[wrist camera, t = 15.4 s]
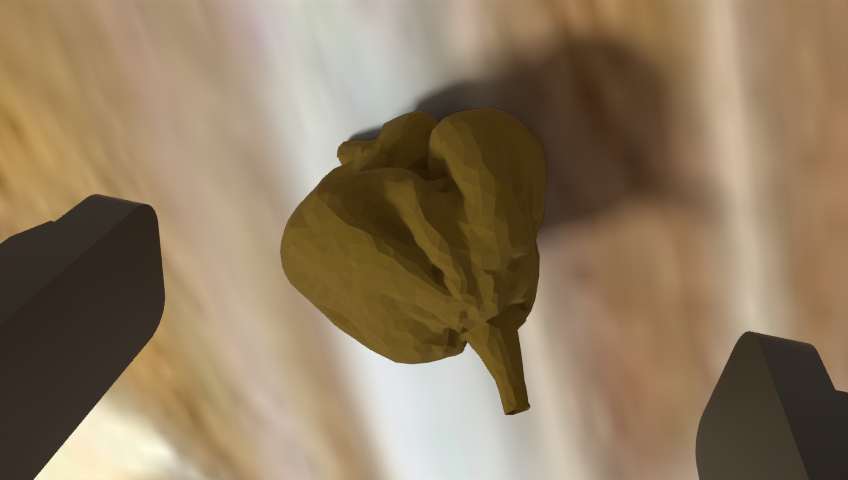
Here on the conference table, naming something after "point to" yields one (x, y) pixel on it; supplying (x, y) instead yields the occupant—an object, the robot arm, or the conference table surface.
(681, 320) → the conference table surface
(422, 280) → the gourd
